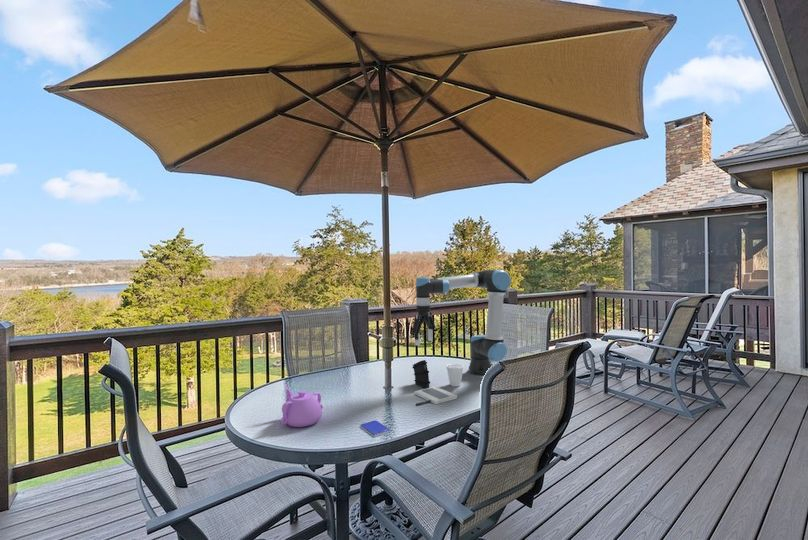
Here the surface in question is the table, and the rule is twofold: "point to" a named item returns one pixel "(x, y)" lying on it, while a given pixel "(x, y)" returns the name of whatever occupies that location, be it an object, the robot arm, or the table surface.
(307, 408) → the teapot
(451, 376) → the cup
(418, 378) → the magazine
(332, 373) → the table surface
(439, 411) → the table surface
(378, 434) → the hard drive
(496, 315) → the robot arm
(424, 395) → the charging pad
